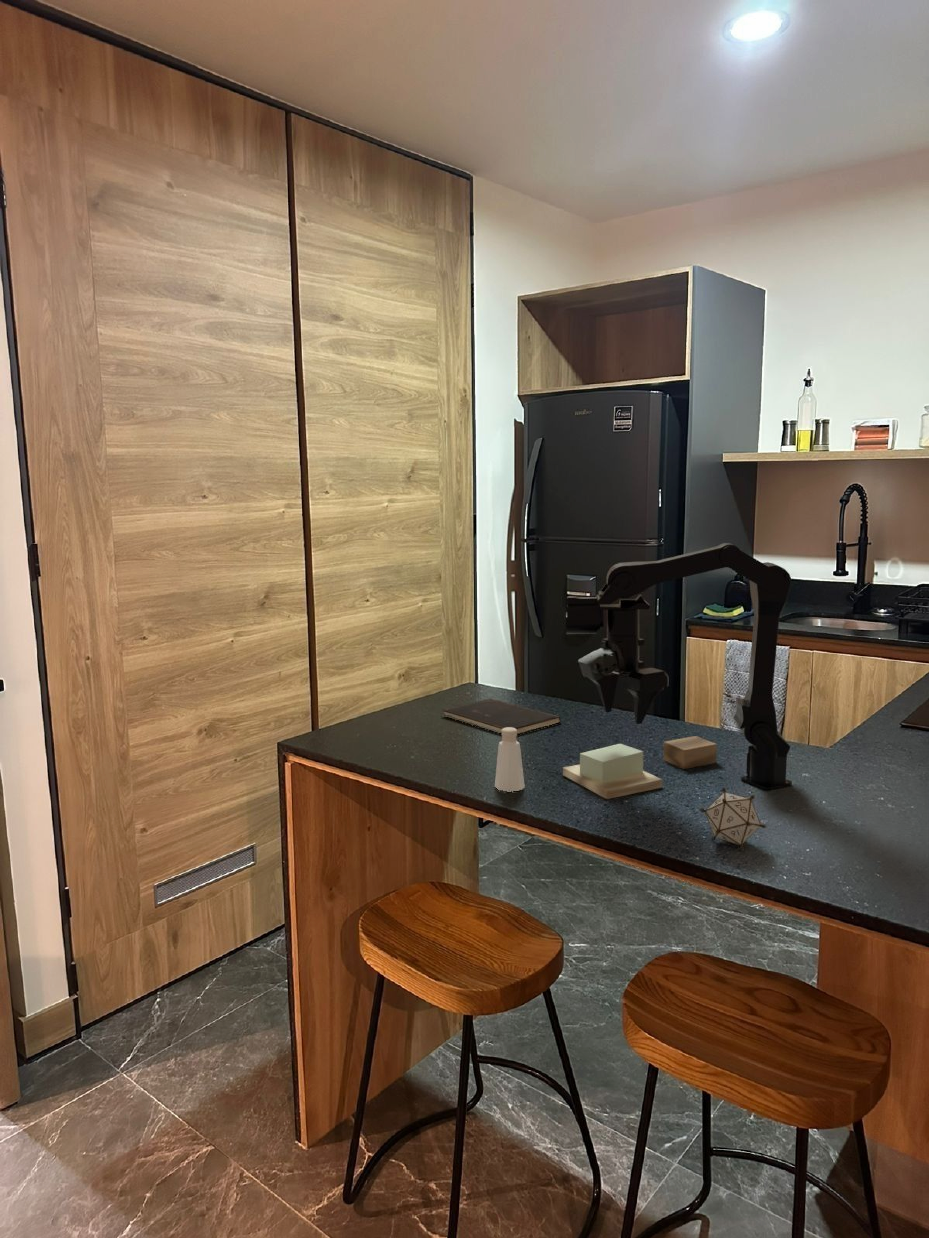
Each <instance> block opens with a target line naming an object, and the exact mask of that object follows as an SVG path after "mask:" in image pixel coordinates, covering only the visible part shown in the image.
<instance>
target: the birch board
mask: <svg viewBox="0 0 929 1238" xmlns="http://www.w3.org/2000/svg"><path fill="white" fill-rule="evenodd" d="M562 776H564V777H566V778H567V779H569V780H571V781H573V782H574V783H576V784H578V785H580V786H581V787H584V788H586V789H587V790H589V791H591V792H592V793H595V794H596V795H598V796H600V797H602V798H604V799H606V800H609V799H613V798H614V799H615V798H618V797H624V796H628V795H632V794H638V793H643V792H646V791H652V790H656V789H661V788H663V779H662V778H660V777H658V776H655V775H653V774H652V773H649V772H647V771H645V770H643V773H639V774H636V775H632V776H628V777H625V778H621V779H618V780H614V781H610V782H607V783H603V784H602V783H600V782H597V781H595V780H592V779H590V778H587V777H585V776H582V775H580V763H579V764H575V765H570V766H564V767H562Z"/></svg>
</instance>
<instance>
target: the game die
mask: <svg viewBox="0 0 929 1238" xmlns="http://www.w3.org/2000/svg"><path fill="white" fill-rule="evenodd" d="M726 789H727V788H725V787H724V786H722V788H721V791H722V793H721V794H720V795H719V796H718V797H717V798H716V799H715V800H714V801H713V802H712V803H711V804H710V805H709V806H708V807H707V808H706V809H705V808H700V809H698V810H699V811H700V812H701V813H705V815H706V818H707V821H708V824H709V827H710V829H711V833H712V834H713V836H712V837H711V841H710V842H715V841H716V839H718V840H721V841H725V842H728V843H731V844H735V845H738V846H739V849H740V850H741V851H742V850H743V851H744V849H745V848H744V846H743V845H744V843H745V842H747V840H748V839H749V838H751V837H752V835H753V834H755V832H756V831H757V830H759V828H762V829H765V828H767V826H766V825H765V824H764V823H762V824H761V822H760V819H759V816H758V814H757V811H756V807H755V806H754V803H753V801H752V800H754V799H755V794H753V795H752V794H751V795H750V797H746V796H743V795H740V794H739V795H738V794H735V793H731V792H727V791H726Z"/></svg>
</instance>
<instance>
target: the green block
mask: <svg viewBox="0 0 929 1238" xmlns="http://www.w3.org/2000/svg"><path fill="white" fill-rule="evenodd" d="M579 764H580V775H582V776H585V777H587V778H590V779H592V780H595V781H597V782H600V783H602V784H603V783H607V782H610V781H614V780H618V779H621V778H625V777H628V776H632V775H636V774H639V773H643V771H644V751H643V750H640V749H637V748H634V747H631V746H628V745H626V744H623V743H617V744H613V745H609V746H605V747H601V748H597V749H593V750H589V751H585V752H580V753H579Z"/></svg>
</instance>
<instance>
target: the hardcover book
mask: <svg viewBox="0 0 929 1238" xmlns="http://www.w3.org/2000/svg"><path fill="white" fill-rule="evenodd" d="M441 712H443V714H444V713H445V714H446V715H451V716H453V717H455V718H457V719H462V720H464V721H467V722H472V723H474V724H477V725H479V726H484V727H487V728H489V729H494V730H496V731H498V732H501V730H502V729H503V728H506V727H512V728H515V729H517V733H520V732H525V731H528V730H531V729H536V728H539V727H543V726H548V727H550V726H549V725H552V724H555V723H558V722H560V723H561V717H560V716H558V715H555V714H551V713H548V712H544V711H539V710H535V709H533V708H529V707H525V706H520V705H517V704H514V703H510V702H506V701H503V700H498V699H494V698H486V699H481V700H477V701H474V702H469V703H464V704H461V705H456V706H451V707H447V708H443V709H441ZM555 725H556V724H555ZM552 726H553V725H552ZM517 733H516V734H517Z"/></svg>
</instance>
